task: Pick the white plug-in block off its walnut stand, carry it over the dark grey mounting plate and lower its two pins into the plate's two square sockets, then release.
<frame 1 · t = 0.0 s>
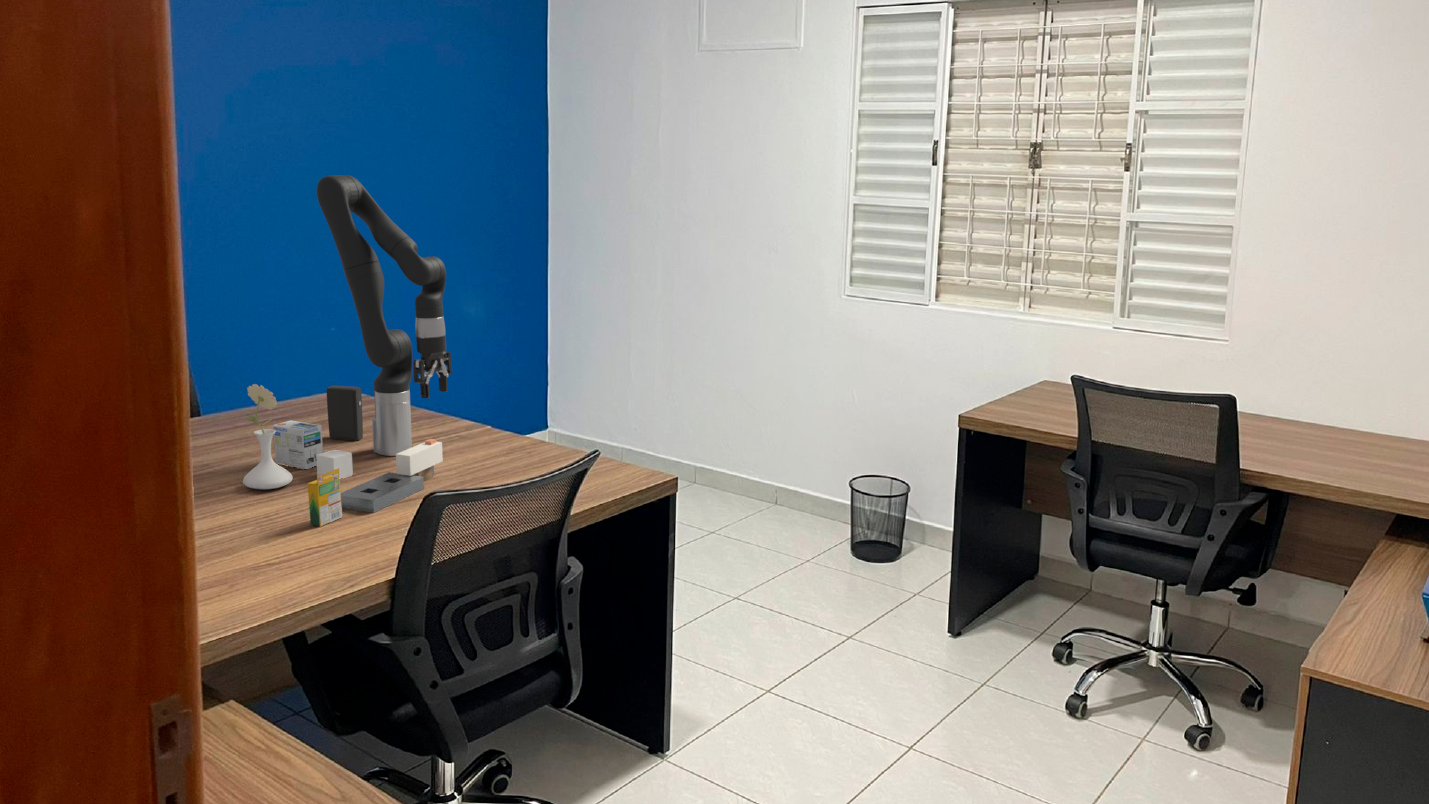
hand: (434, 394, 303), 17 cm above the table, tool pointing down, fingers open, 8 cm apart
light bulb box: (299, 465, 298), on the table
flower in vase: (267, 486, 280), on the table
black upright block: (347, 439, 323), on the table
crayon box: (326, 522, 255), on the table
mounting plate: (381, 497, 272), on the table
white cube: (335, 477, 288), on the table
white plug-in block: (420, 467, 286), point 3 cm above the table, touching walnut stand
walnut stand: (420, 479, 287), on the table
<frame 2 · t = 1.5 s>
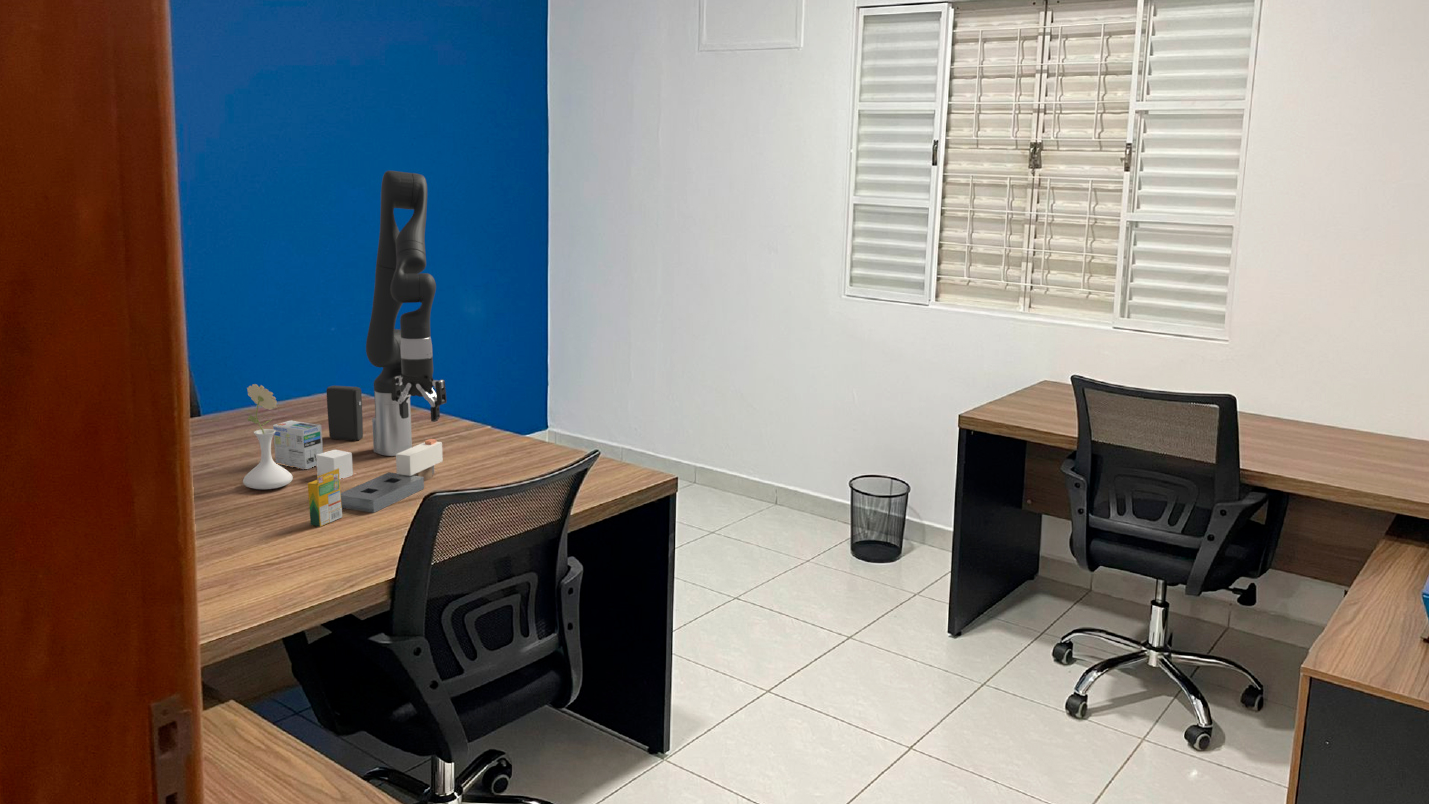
hand: (419, 419, 284), 15 cm above the table, tool pointing down, fingers open, 8 cm apart
nothing on the table moved.
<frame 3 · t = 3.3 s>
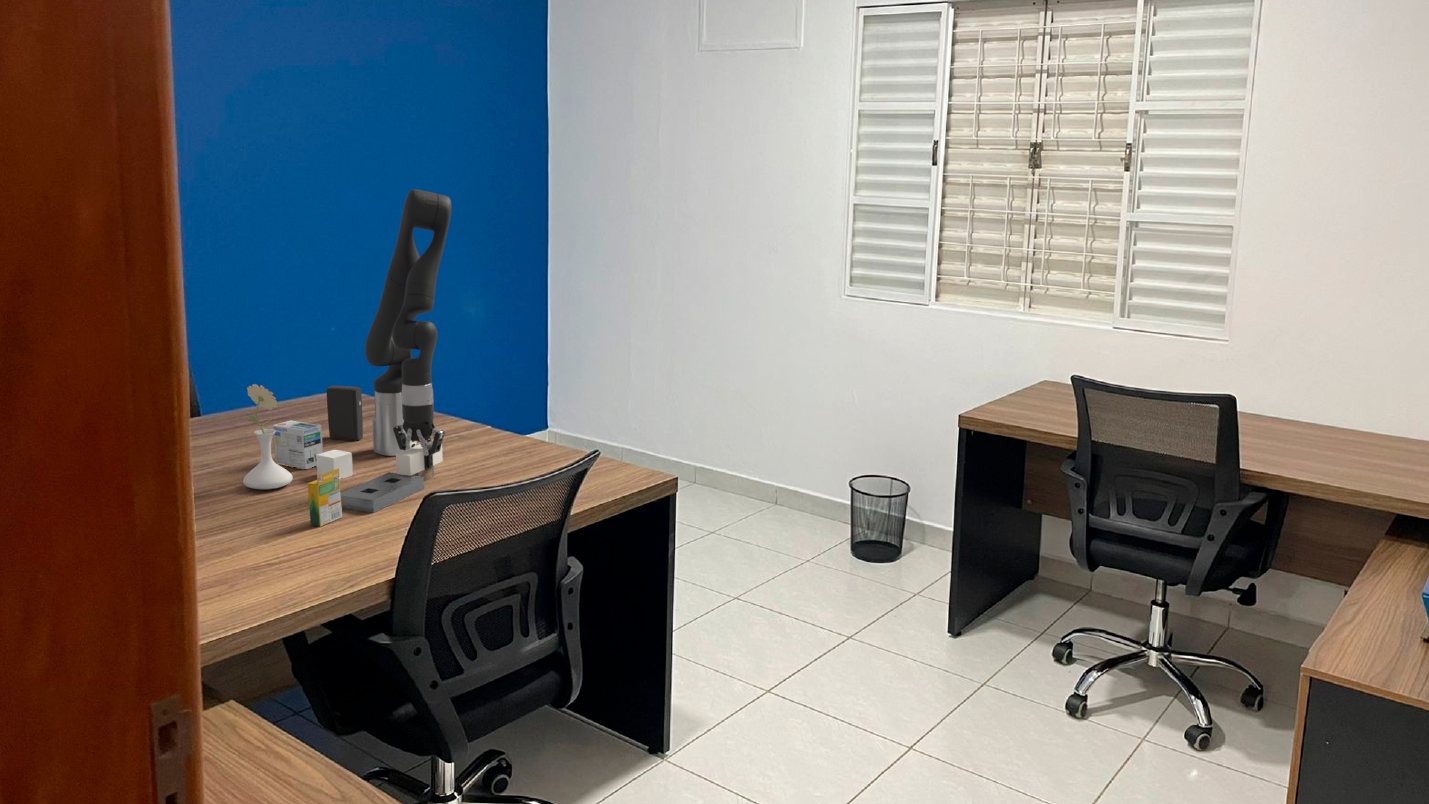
hand: (420, 467, 286), 3 cm above the table, tool pointing down, fingers closed on white plug-in block, 4 cm apart
white plug-in block: (420, 467, 286), point 3 cm above the table, touching gripper, walnut stand
everything else where it was.
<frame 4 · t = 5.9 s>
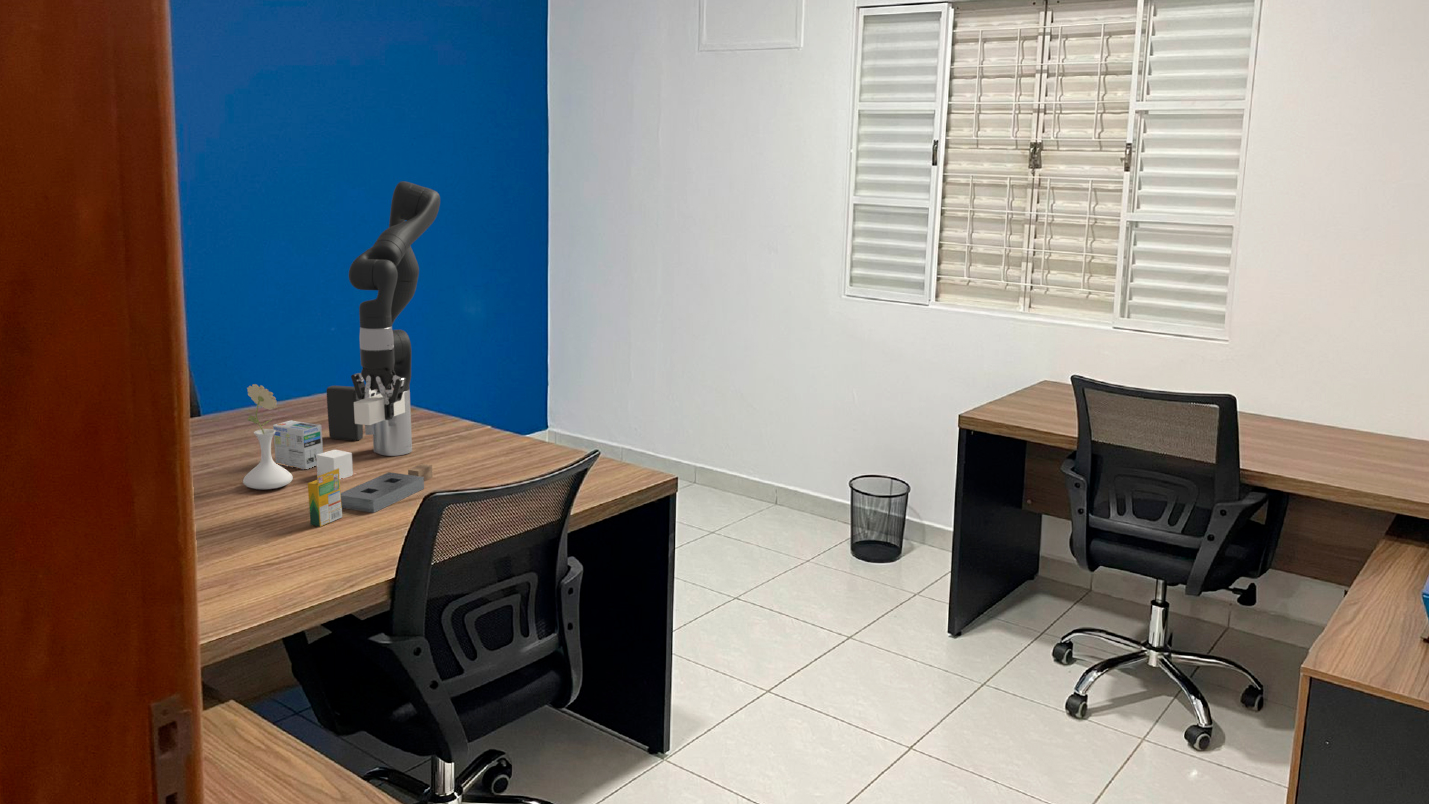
hand: (380, 418, 268), 19 cm above the table, tool pointing down, fingers closed on white plug-in block, 4 cm apart
white plug-in block: (380, 417, 268), point 20 cm above the table, touching gripper
everything else where it was.
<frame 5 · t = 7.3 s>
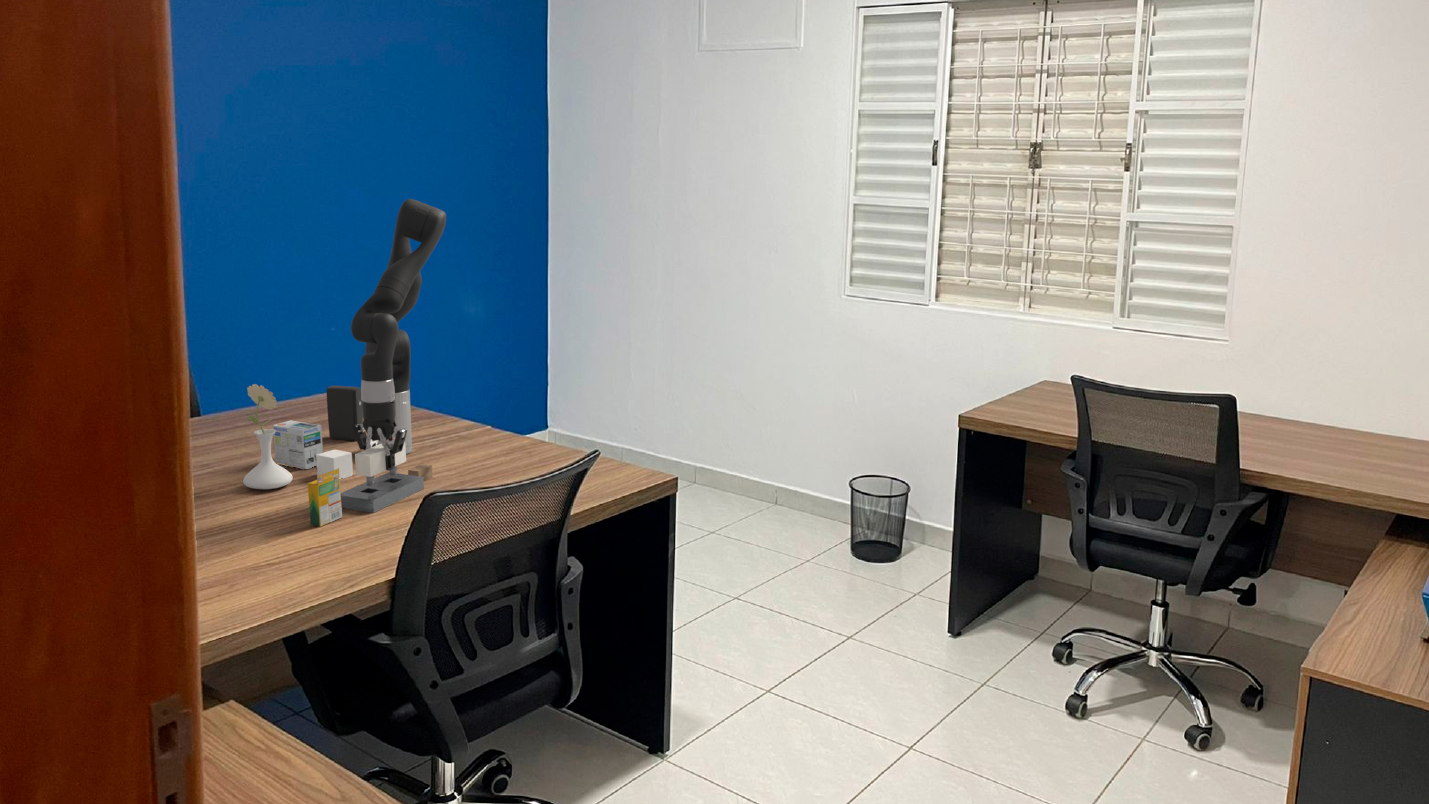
hand: (381, 468, 271), 7 cm above the table, tool pointing down, fingers closed on white plug-in block, 4 cm apart
white plug-in block: (381, 468, 271), point 7 cm above the table, touching gripper
everything else where it was.
when the fingers open (4 cm above the table, at t = 8.5 s): white plug-in block stays where it is, resting on mounting plate.
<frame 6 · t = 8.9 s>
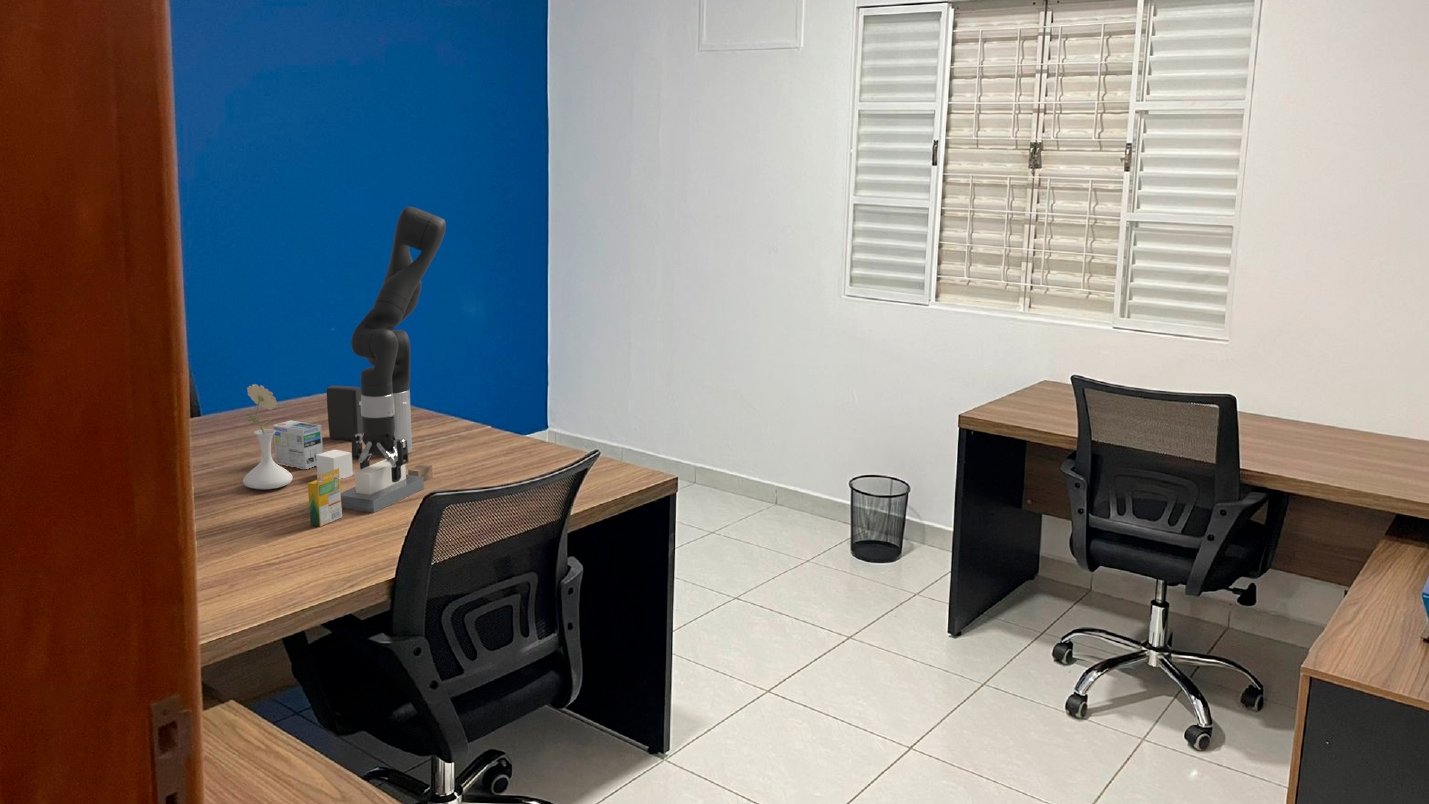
hand: (381, 479, 271), 5 cm above the table, tool pointing down, fingers open, 8 cm apart
white plug-in block: (381, 485, 272), point 3 cm above the table, touching mounting plate
everything else where it was.
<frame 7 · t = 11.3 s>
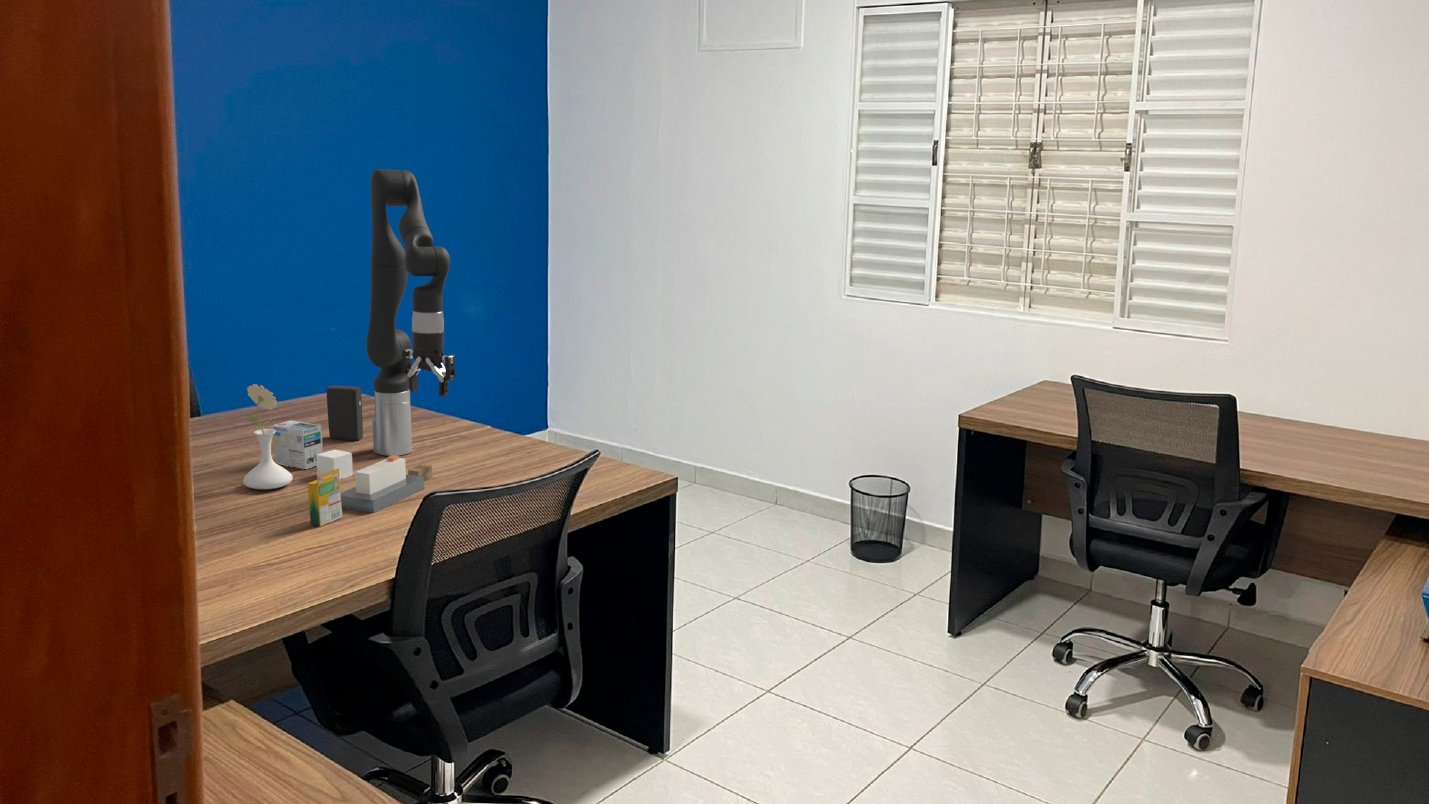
hand: (428, 393, 282), 22 cm above the table, tool pointing down, fingers open, 8 cm apart
nothing on the table moved.
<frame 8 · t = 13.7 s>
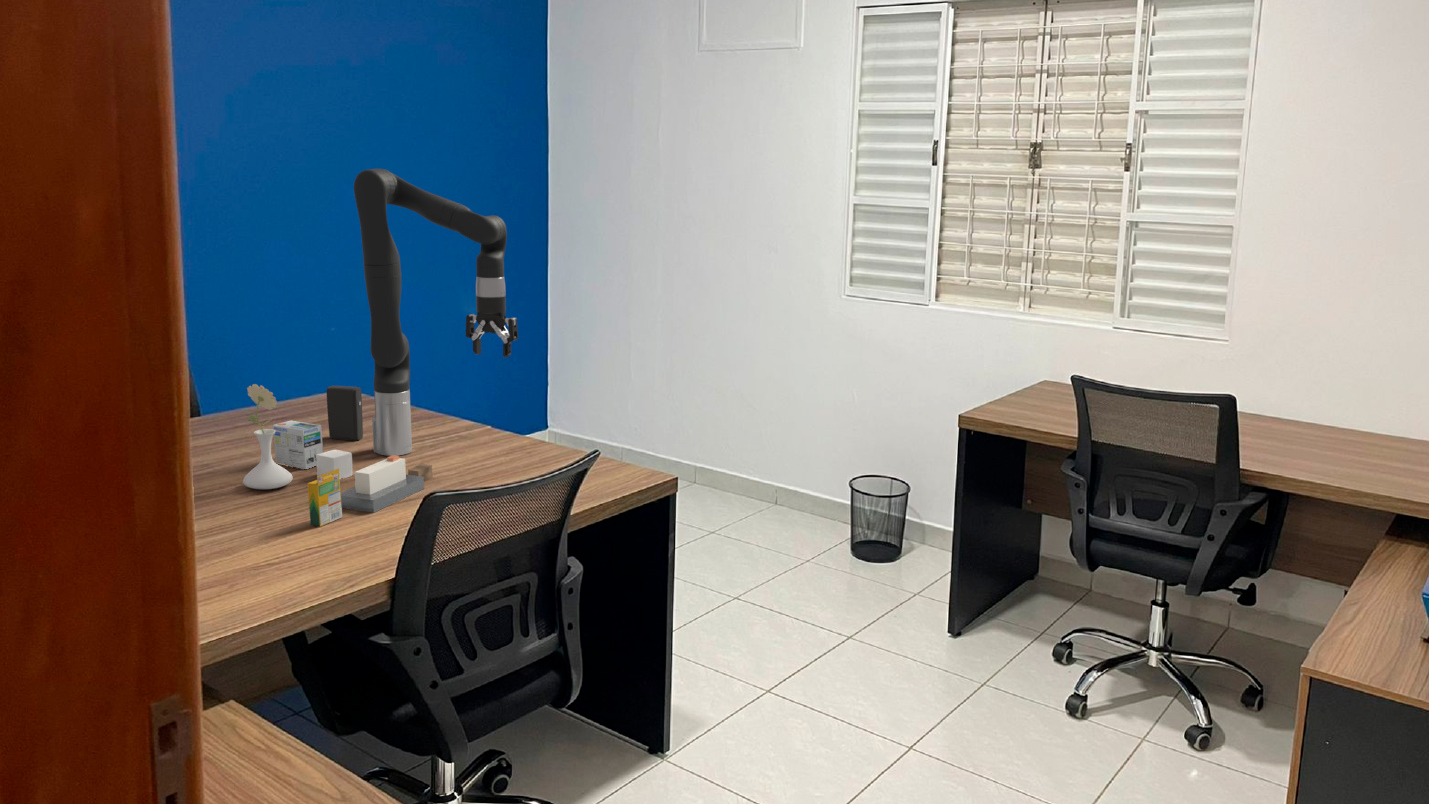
hand: (492, 355, 300), 28 cm above the table, tool pointing down, fingers open, 8 cm apart
nothing on the table moved.
at the end: white plug-in block 0.1 cm off-centre on the mounting plate, point 3.0 cm above the mounting plate's base; white plug-in block tilted 0°; the gripper is holding nothing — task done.
